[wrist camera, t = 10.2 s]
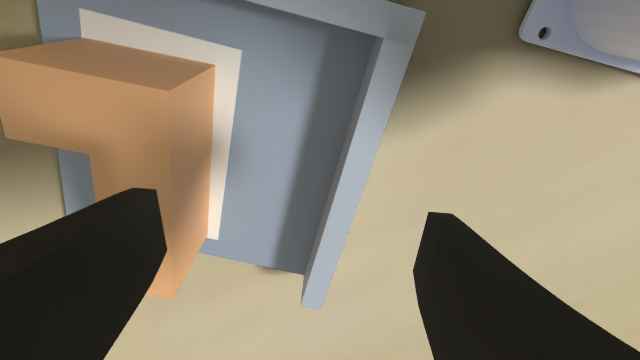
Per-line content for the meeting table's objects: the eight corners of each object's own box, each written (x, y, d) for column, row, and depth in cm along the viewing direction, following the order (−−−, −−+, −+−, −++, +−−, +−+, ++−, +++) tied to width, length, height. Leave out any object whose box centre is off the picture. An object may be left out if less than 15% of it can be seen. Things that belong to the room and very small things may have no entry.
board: (408, 8, 15) (413, 9, 14) (322, 268, 23) (322, 280, 22) (42, -95, 14) (20, -101, 13) (78, 215, 22) (66, 225, 21)
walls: (408, 8, 15) (426, 12, 12) (322, 268, 23) (320, 310, 20) (42, -95, 14) (-41, -120, 11) (78, 215, 22) (35, 251, 19)
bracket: (207, 234, 21) (172, 298, 16) (106, 215, 20) (42, 277, 16) (215, 65, 16) (168, 91, 11) (83, 37, 15) (-17, 53, 11)
